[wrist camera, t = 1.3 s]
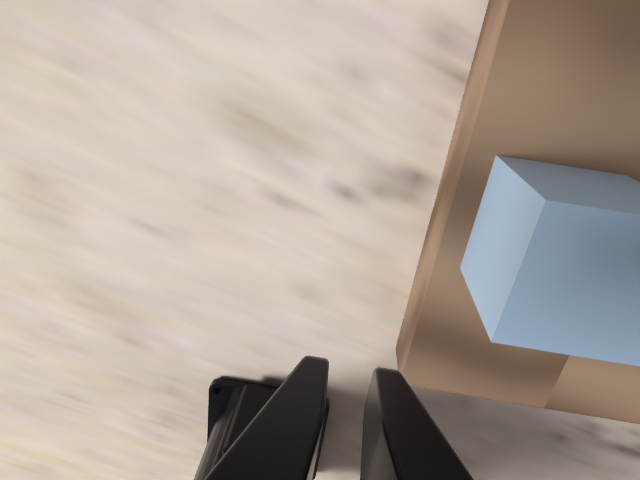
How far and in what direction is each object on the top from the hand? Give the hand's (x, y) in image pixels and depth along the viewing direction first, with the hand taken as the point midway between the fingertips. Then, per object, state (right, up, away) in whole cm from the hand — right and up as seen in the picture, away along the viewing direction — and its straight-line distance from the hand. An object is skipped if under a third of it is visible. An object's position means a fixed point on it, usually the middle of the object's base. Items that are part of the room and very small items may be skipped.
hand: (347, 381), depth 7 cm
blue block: (+8, +3, +8) cm, 12 cm away
